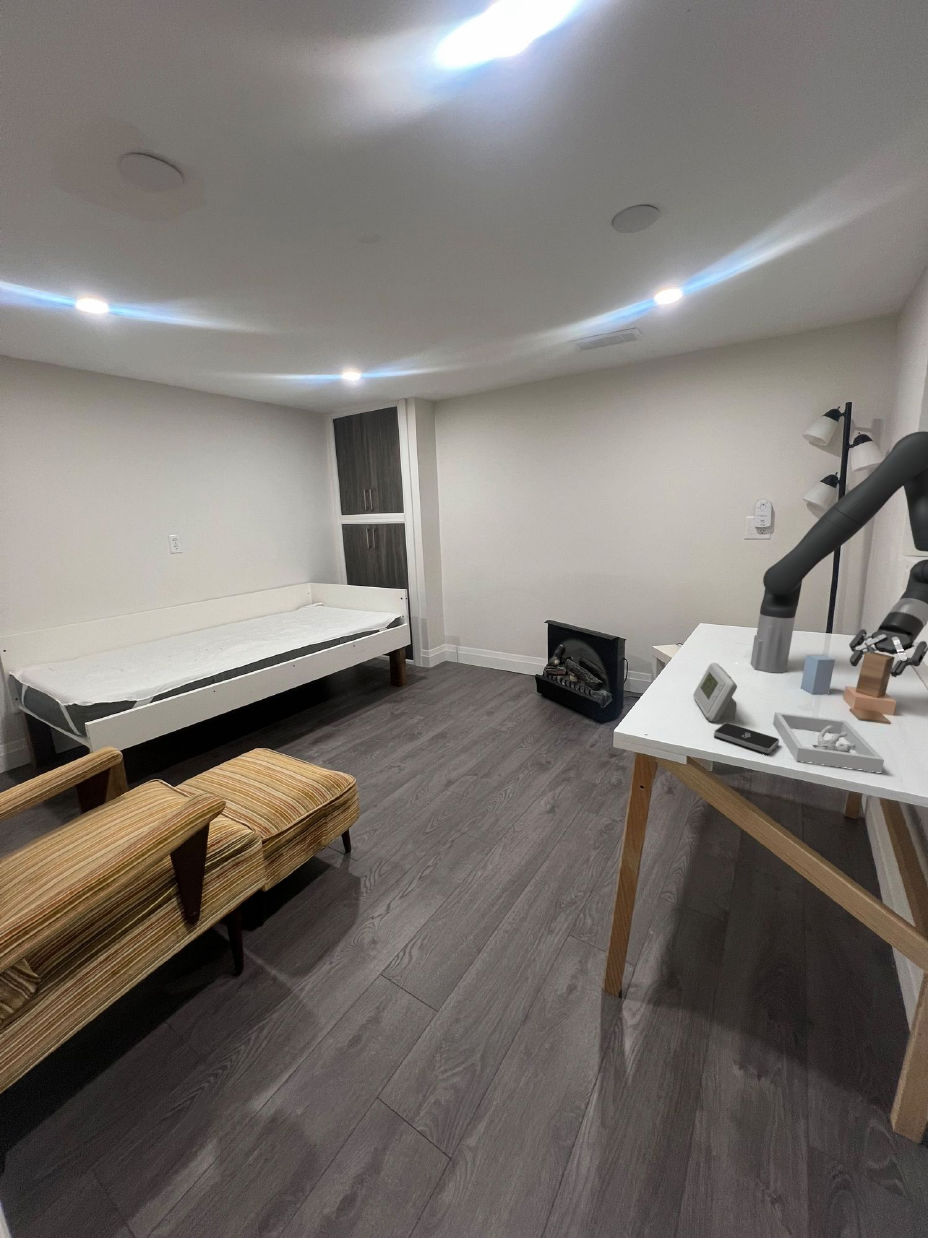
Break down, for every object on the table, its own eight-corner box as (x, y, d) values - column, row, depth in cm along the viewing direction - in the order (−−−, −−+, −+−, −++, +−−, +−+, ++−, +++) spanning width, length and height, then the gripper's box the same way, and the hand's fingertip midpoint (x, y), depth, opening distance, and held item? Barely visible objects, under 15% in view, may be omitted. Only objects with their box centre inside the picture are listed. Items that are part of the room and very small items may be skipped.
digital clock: (692, 697, 130) (697, 659, 127) (730, 702, 126) (735, 663, 124) (693, 721, 115) (698, 679, 113) (736, 728, 112) (742, 685, 109)
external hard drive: (767, 758, 99) (769, 749, 99) (711, 739, 107) (713, 731, 107) (778, 747, 104) (780, 739, 103) (724, 730, 112) (725, 722, 111)
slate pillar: (812, 694, 131) (818, 659, 129) (800, 688, 135) (806, 654, 133) (828, 694, 131) (835, 659, 129) (816, 688, 135) (822, 654, 133)
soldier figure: (865, 759, 100) (853, 761, 92) (840, 768, 103) (826, 770, 95) (841, 724, 104) (827, 723, 96) (817, 733, 107) (802, 733, 99)
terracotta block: (852, 711, 121) (855, 696, 120) (842, 700, 128) (845, 685, 127) (892, 717, 118) (896, 701, 117) (880, 704, 125) (883, 690, 124)
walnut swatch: (859, 720, 115) (859, 718, 115) (849, 710, 121) (849, 708, 121) (890, 724, 113) (890, 721, 113) (878, 713, 119) (878, 711, 119)
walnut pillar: (876, 697, 119) (886, 659, 117) (855, 691, 123) (864, 654, 121) (885, 694, 121) (894, 657, 119) (864, 688, 125) (873, 651, 123)
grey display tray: (796, 761, 97) (798, 748, 96) (772, 724, 113) (774, 712, 113) (881, 774, 92) (884, 759, 92) (844, 733, 109) (846, 720, 108)
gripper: (869, 605, 127) (836, 653, 125) (939, 616, 114) (904, 669, 112) (876, 623, 130) (844, 669, 128) (945, 635, 118) (910, 687, 116)
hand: (872, 669), depth 120 cm, fingers open, 8 cm apart
